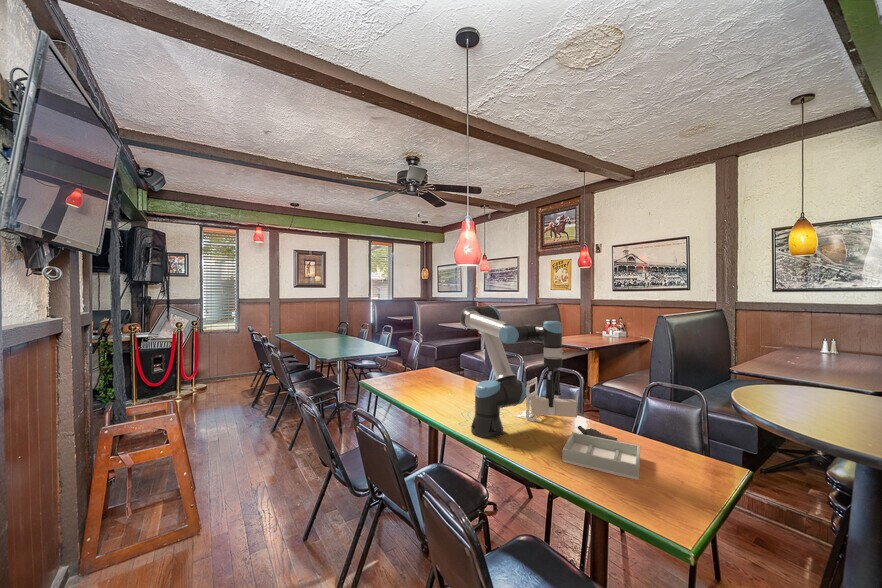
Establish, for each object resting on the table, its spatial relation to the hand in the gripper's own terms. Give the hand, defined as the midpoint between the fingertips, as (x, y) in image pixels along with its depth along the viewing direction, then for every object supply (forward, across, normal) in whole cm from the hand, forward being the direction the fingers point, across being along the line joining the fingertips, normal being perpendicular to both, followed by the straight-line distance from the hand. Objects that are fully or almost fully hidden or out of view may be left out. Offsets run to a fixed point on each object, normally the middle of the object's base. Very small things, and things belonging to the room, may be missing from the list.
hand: (553, 412), depth 149 cm
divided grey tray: (+16, +1, -18) cm, 24 cm away
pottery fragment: (+16, +23, -14) cm, 31 cm away
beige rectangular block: (+1, 0, 0) cm, 1 cm away
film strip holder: (+15, +35, +22) cm, 44 cm away
